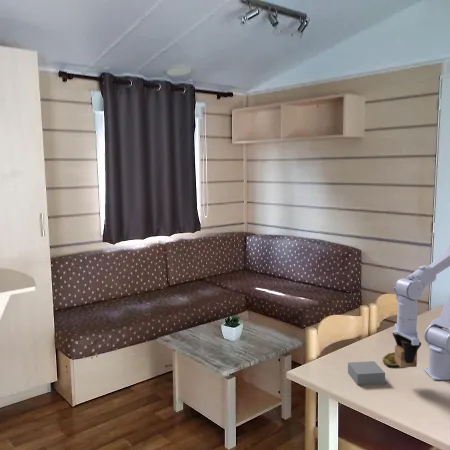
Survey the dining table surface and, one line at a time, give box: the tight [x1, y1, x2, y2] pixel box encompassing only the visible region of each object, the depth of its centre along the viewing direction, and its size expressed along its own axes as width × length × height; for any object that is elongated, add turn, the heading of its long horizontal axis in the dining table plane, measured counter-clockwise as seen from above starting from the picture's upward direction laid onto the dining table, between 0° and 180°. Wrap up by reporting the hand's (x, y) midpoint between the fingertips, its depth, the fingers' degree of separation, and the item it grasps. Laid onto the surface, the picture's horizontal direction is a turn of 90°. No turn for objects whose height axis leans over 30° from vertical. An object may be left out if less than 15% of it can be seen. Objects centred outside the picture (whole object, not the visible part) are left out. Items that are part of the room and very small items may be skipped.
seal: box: [382, 351, 403, 369], centre depth 168 cm, size 9×5×15 cm
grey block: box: [347, 360, 386, 386], centre depth 155 cm, size 9×9×4 cm
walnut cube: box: [394, 345, 418, 368], centre depth 149 cm, size 5×5×5 cm
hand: (405, 358), depth 149 cm, fingers closed on walnut cube, 5 cm apart
